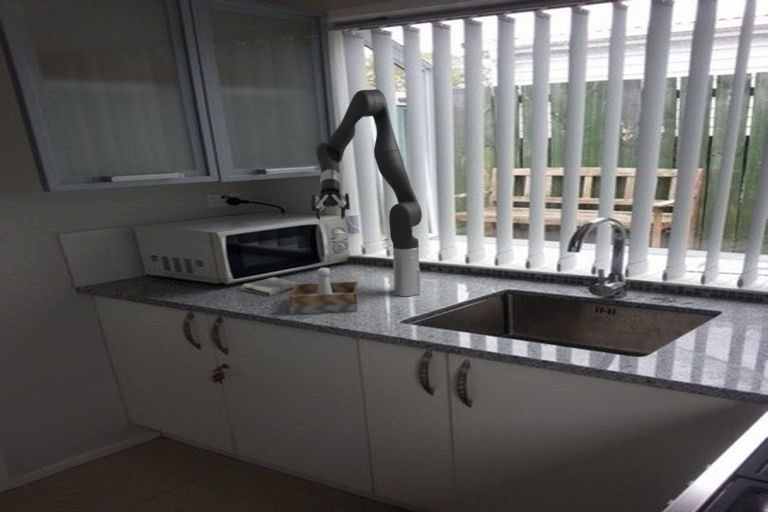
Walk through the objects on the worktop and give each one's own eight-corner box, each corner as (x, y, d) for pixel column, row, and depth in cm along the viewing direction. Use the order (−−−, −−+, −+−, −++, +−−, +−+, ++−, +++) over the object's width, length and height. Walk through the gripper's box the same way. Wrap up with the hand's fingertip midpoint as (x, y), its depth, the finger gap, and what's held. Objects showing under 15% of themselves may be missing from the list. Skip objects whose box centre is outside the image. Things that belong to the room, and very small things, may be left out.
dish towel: (304, 287, 207) (304, 279, 206) (269, 298, 193) (269, 289, 192) (273, 281, 218) (272, 273, 217) (237, 291, 204) (237, 283, 203)
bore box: (357, 297, 188) (357, 281, 187) (357, 311, 172) (356, 293, 171) (296, 300, 187) (295, 284, 186) (290, 314, 171) (289, 296, 170)
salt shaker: (331, 307, 177) (329, 270, 174) (314, 307, 178) (312, 270, 175) (335, 302, 182) (334, 266, 180) (320, 302, 184) (318, 266, 181)
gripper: (310, 178, 197) (310, 212, 188) (348, 177, 197) (349, 210, 189) (312, 191, 203) (312, 224, 194) (349, 190, 204) (350, 223, 195)
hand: (330, 217), depth 191 cm, fingers open, 8 cm apart
